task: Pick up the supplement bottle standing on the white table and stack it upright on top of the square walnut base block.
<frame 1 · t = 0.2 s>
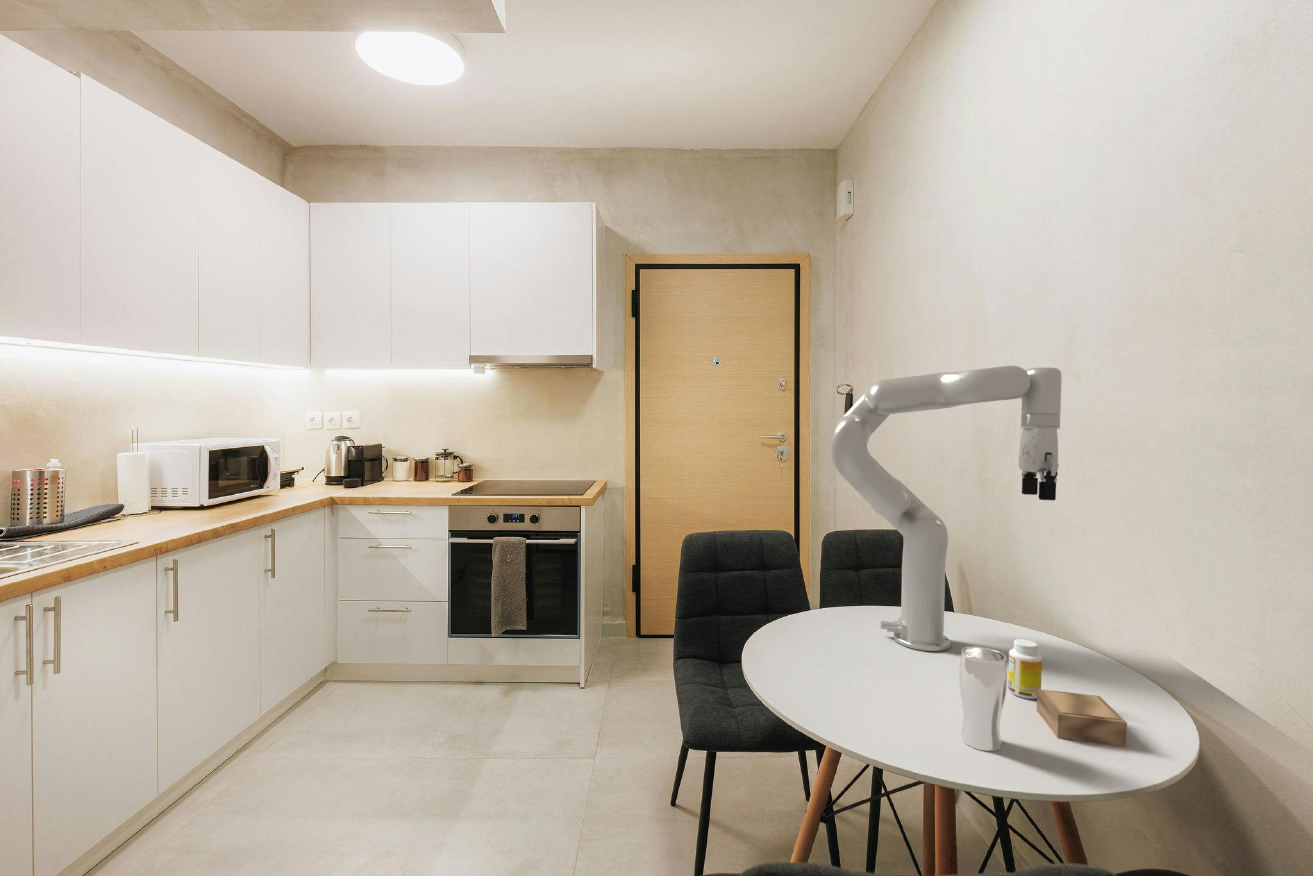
hand: (1038, 497, 138), 36 cm above the table, tool pointing down, fingers open, 9 cm apart
supplement bottle: (1024, 694, 119), on the table
beer glass: (980, 743, 101), on the table
base: (1078, 727, 106), on the table
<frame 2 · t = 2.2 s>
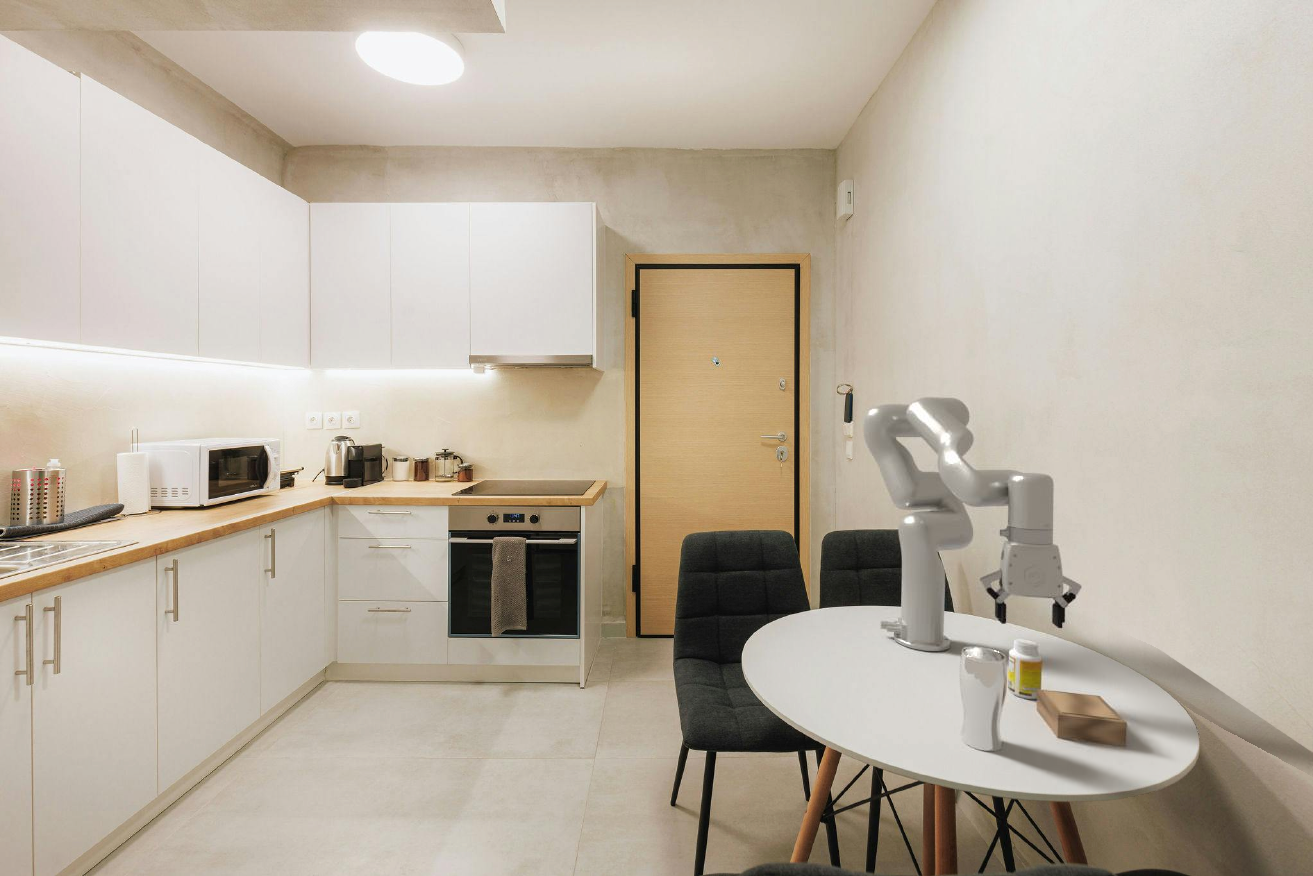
hand: (1029, 623, 118), 14 cm above the table, tool pointing down, fingers open, 9 cm apart
nothing on the table moved.
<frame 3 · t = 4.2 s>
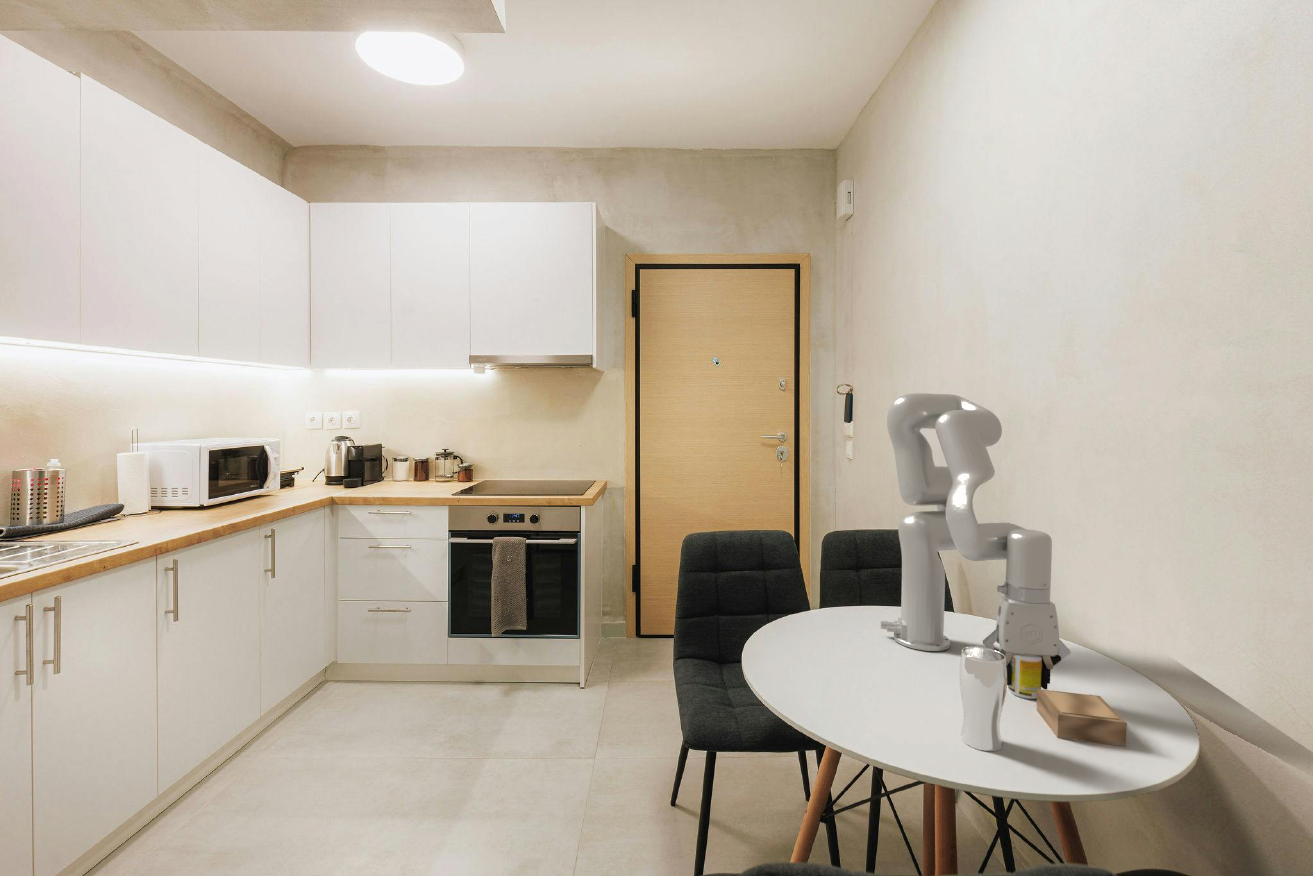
hand: (1024, 683, 119), 2 cm above the table, tool pointing down, fingers closed on supplement bottle, 5 cm apart
supplement bottle: (1024, 694, 119), on the table, touching gripper
everything else where it was.
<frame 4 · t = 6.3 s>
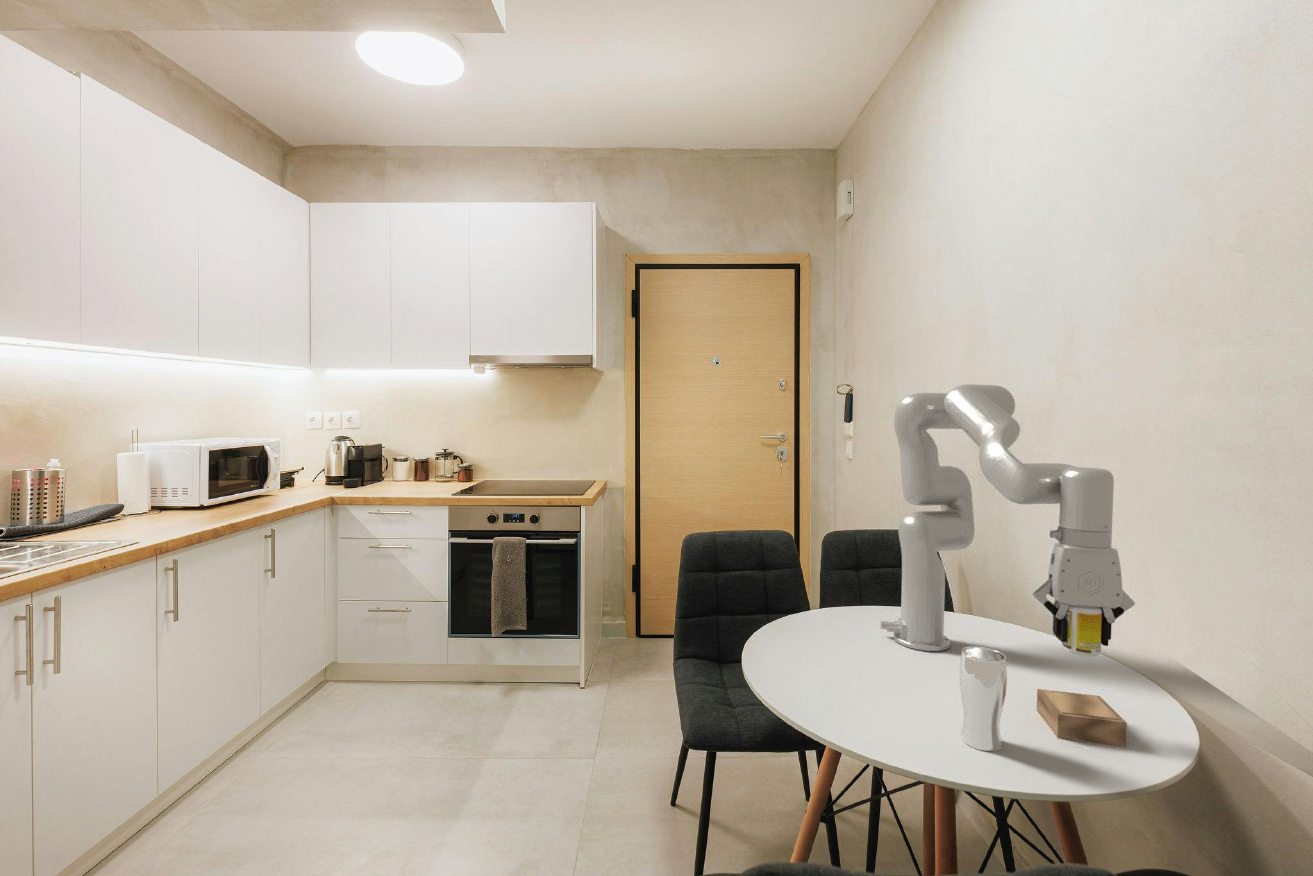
hand: (1081, 640, 106), 15 cm above the table, tool pointing down, fingers closed on supplement bottle, 5 cm apart
supplement bottle: (1080, 652, 106), point 13 cm above the table, touching gripper
everything else where it was.
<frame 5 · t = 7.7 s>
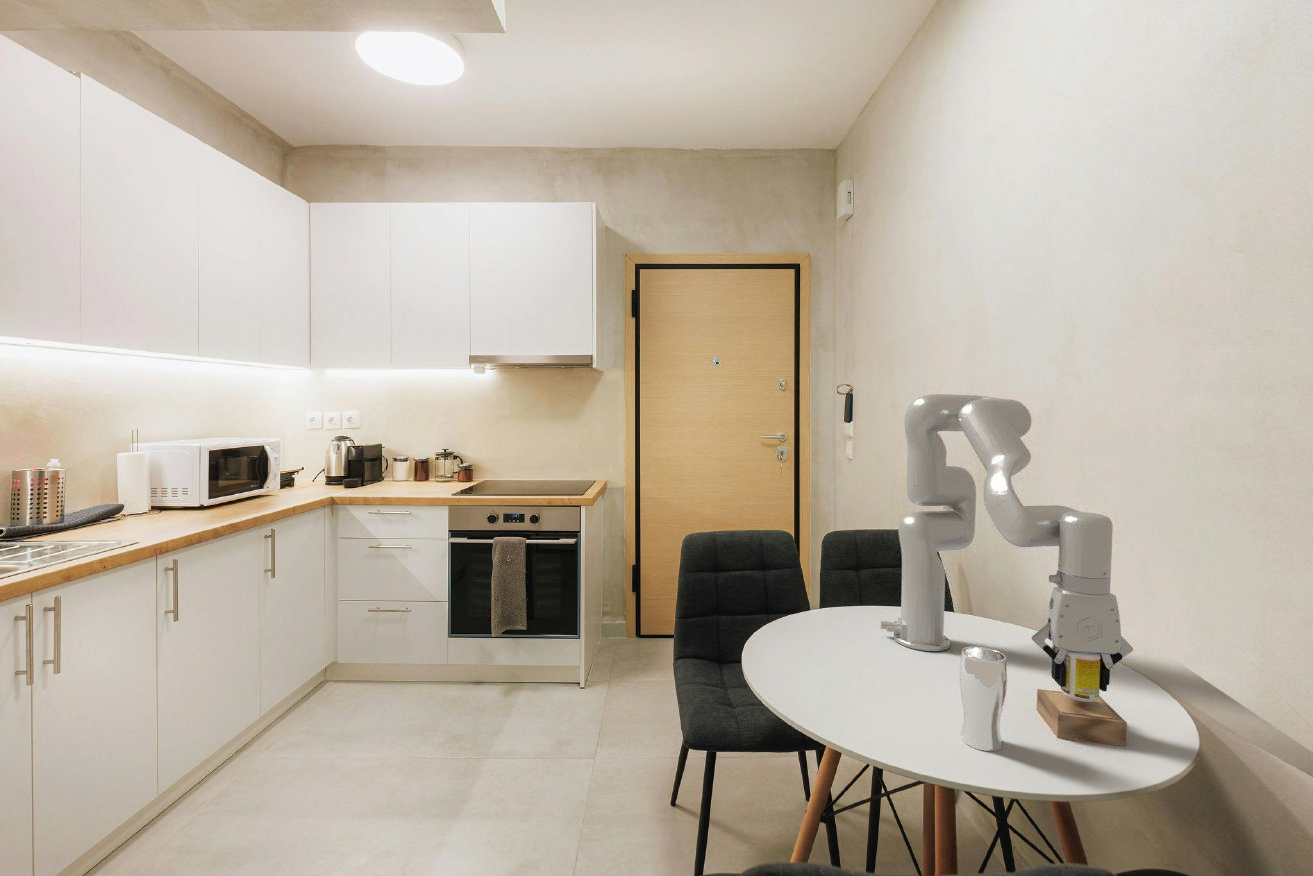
hand: (1079, 684, 106), 8 cm above the table, tool pointing down, fingers closed on supplement bottle, 5 cm apart
supplement bottle: (1079, 697, 106), point 5 cm above the table, touching gripper
everything else where it was.
when the fingers open (7 cm above the table, at t = 8.5 s): supplement bottle drops 1 cm, resting on base.
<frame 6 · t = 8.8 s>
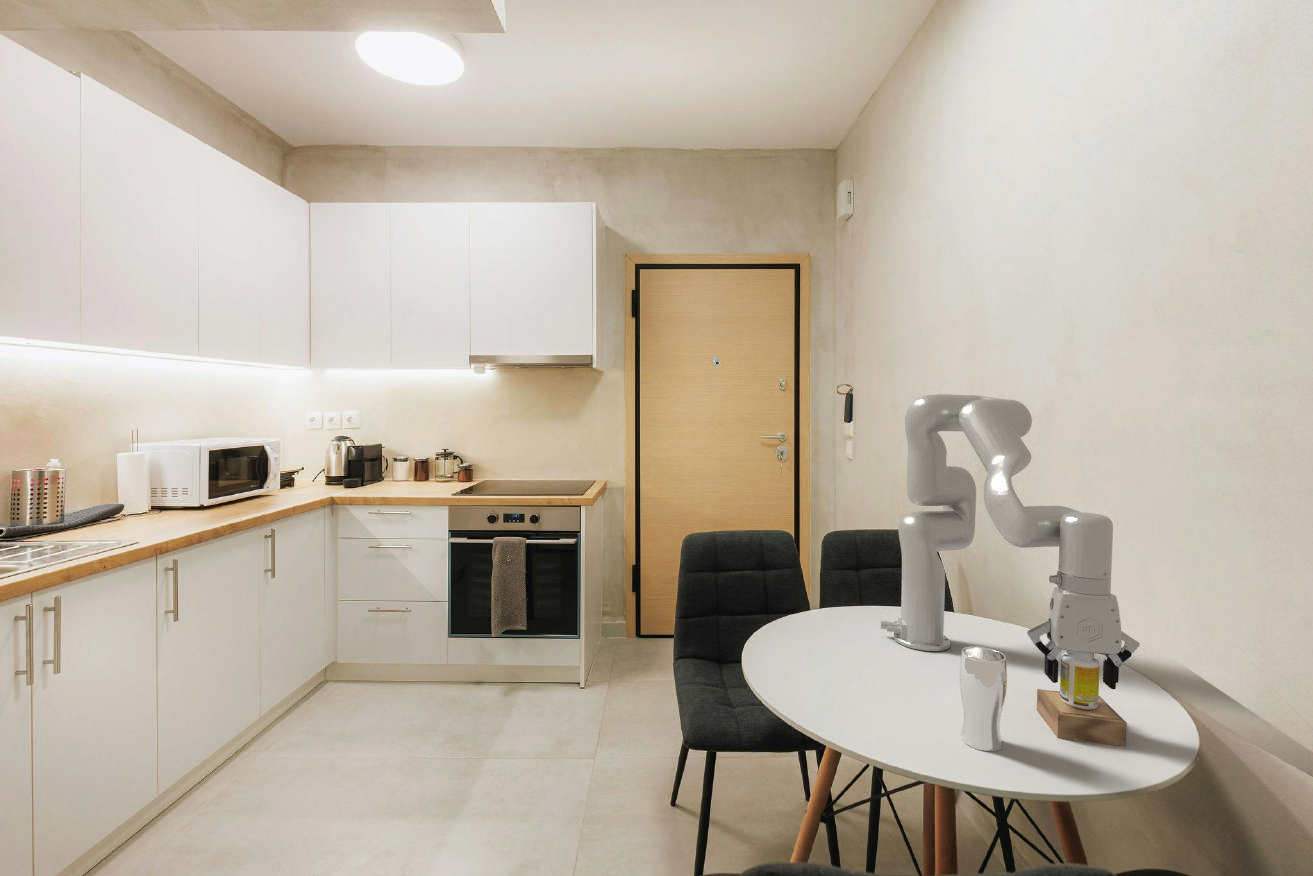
hand: (1080, 682, 106), 8 cm above the table, tool pointing down, fingers open, 8 cm apart
supplement bottle: (1078, 704, 106), point 4 cm above the table, touching base
everything else where it was.
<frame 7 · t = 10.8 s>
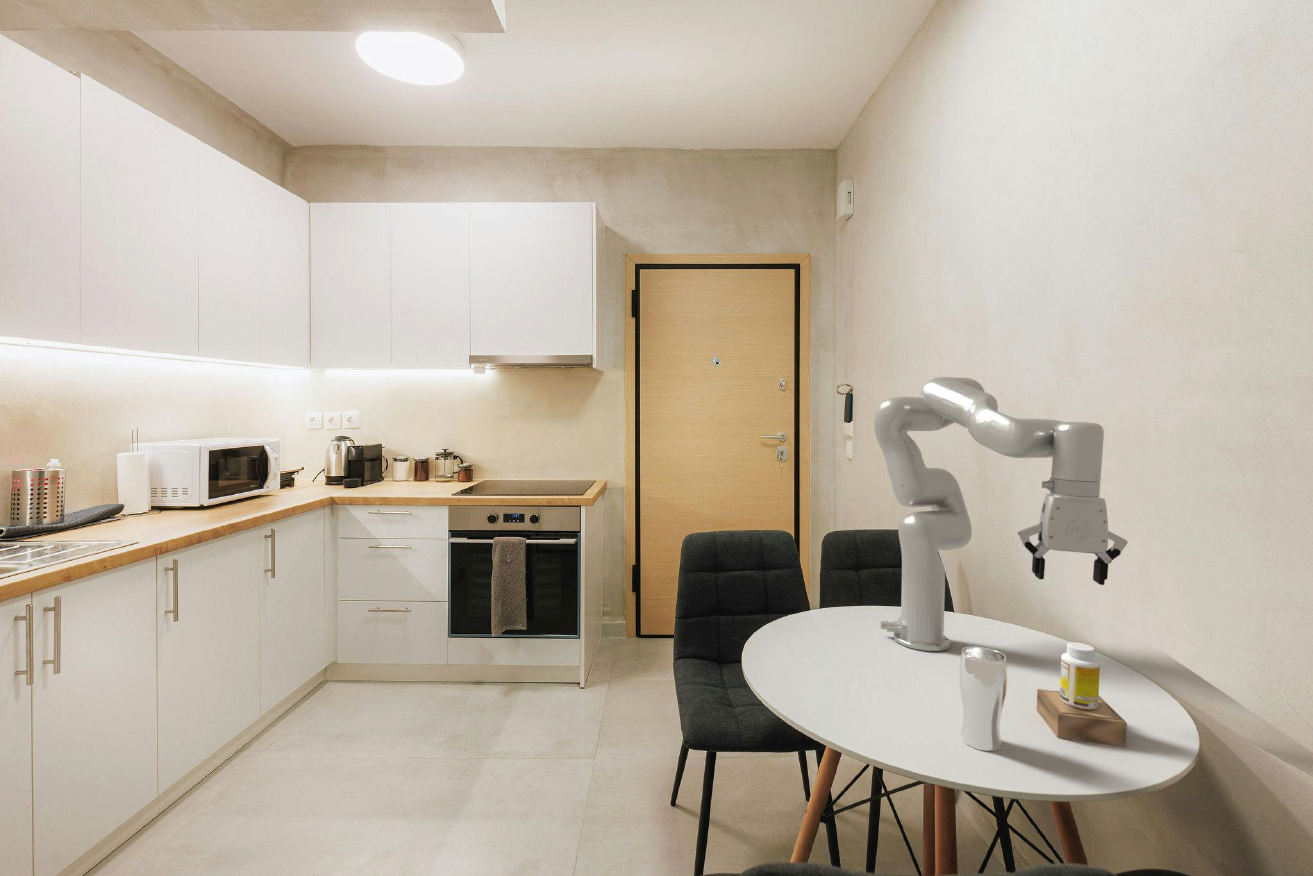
hand: (1068, 580, 113), 24 cm above the table, tool pointing down, fingers open, 9 cm apart
nothing on the table moved.
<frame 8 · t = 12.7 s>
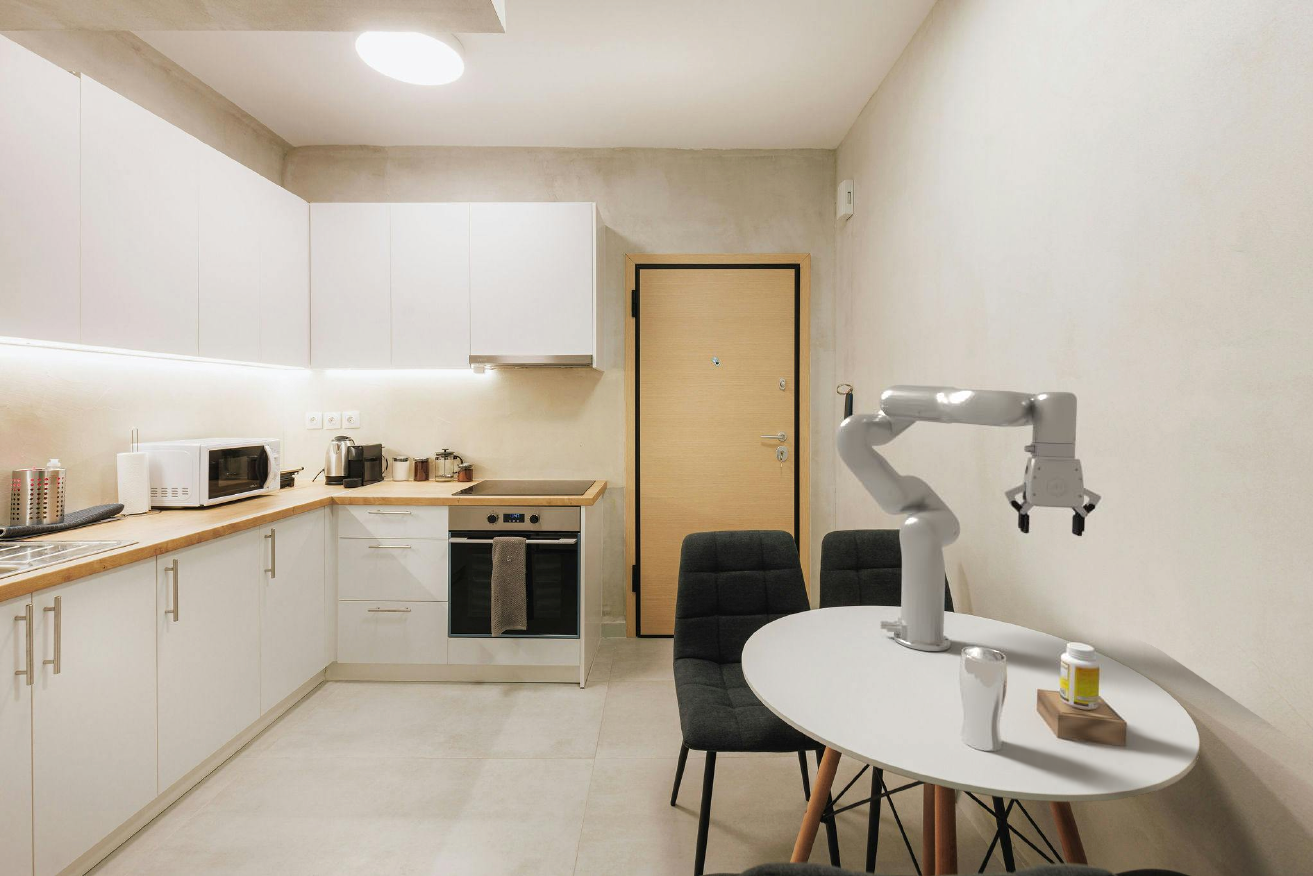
hand: (1050, 533, 126), 30 cm above the table, tool pointing down, fingers open, 9 cm apart
nothing on the table moved.
at the end: supplement bottle inside the target area on the base (0.1 cm from its centre), point 4.0 cm above the base's base; supplement bottle tilted 0°; the gripper is holding nothing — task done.
